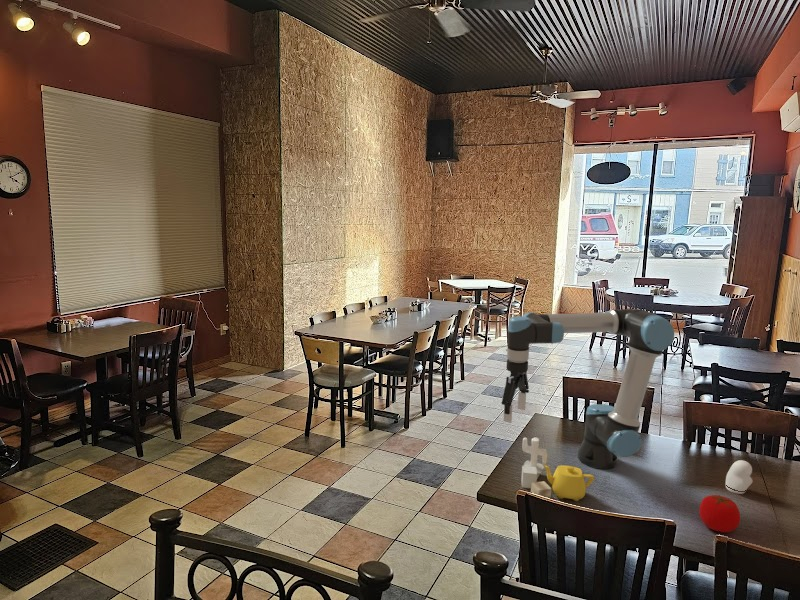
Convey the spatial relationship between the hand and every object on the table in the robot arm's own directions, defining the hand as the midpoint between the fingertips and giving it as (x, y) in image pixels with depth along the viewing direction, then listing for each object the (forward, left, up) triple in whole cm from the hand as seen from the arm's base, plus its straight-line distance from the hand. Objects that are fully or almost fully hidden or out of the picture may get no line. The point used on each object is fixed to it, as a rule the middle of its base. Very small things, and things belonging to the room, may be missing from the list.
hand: (514, 415), depth 193 cm
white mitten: (-83, +4, -26) cm, 87 cm away
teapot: (-18, +9, -26) cm, 33 cm away
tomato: (-62, +27, -26) cm, 73 cm away
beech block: (-8, +12, -26) cm, 30 cm away
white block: (-6, +3, -26) cm, 27 cm away
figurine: (-10, -4, -26) cm, 28 cm away
